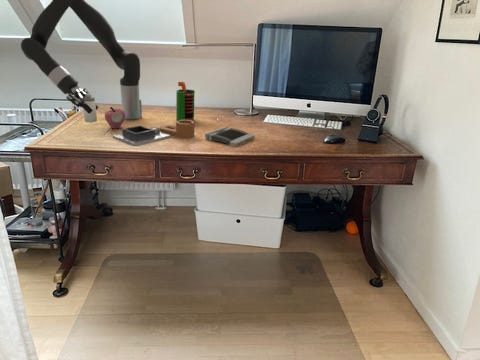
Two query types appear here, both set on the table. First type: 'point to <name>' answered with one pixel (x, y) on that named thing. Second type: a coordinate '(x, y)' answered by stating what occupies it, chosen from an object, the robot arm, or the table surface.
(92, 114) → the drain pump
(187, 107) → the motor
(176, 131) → the bracket
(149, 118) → the table surface
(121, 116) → the apple
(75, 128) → the table surface
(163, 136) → the mount plate
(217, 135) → the grey square tray
